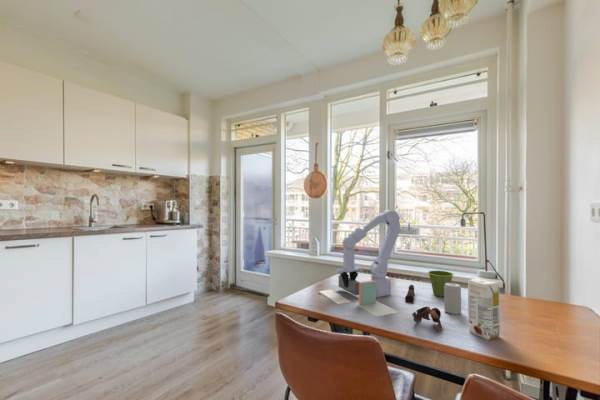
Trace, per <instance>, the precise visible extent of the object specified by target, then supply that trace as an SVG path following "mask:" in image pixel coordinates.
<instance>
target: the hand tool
mask: <svg viewBox="0 0 600 400" xmlns="http://www.w3.org/2000/svg"><path fill="white" fill-rule="evenodd" d="M404 301H405V302H406V303H411V304H414V302H415V286H414V284H410V285H409V286H408V290H407V293H406V295H405V297H404Z"/></svg>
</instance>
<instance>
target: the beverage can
mask: <svg viewBox="0 0 600 400" xmlns="http://www.w3.org/2000/svg"><path fill="white" fill-rule="evenodd" d="M443 305H444V306H443V307H444V308H443V309H444V311H445V312H446V313H448V314H450V315H460V314H461V313H462V288H461V285H460V284H458V283H455V282H451V283H445V286H444V296H443Z"/></svg>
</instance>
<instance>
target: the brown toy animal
mask: <svg viewBox="0 0 600 400" xmlns="http://www.w3.org/2000/svg"><path fill="white" fill-rule="evenodd" d="M411 316H412V317H413V321H414V323H415V322H416V323H421V324H422V319H423V320H427V321H432V322H434V323H436V325H435V329H436V331H437V333H439V332H441V331H442V330H443V325H442V322H441V316H442V313H441V311H440V309H439V308H437V307H433V308H430V306H423V307H421V308H419V309H417V310H416V312H415V311H414V312H413V313H412V314H411ZM430 317H431V319H432V320H431V319H430ZM413 321H412V322H413Z"/></svg>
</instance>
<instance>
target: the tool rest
mask: <svg viewBox="0 0 600 400" xmlns="http://www.w3.org/2000/svg"><path fill="white" fill-rule="evenodd" d="M318 294H320V295H322V296H324V297H326V298H327V299H328V300H330V301H332V302H333V303H335V304H337V305H345V304H350V303H352V300H349V299H348V298H345V297H343V296H342V295H340V294H339V293H337V292H335V291H334V290H332V289H325V290H319V291H318Z"/></svg>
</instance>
